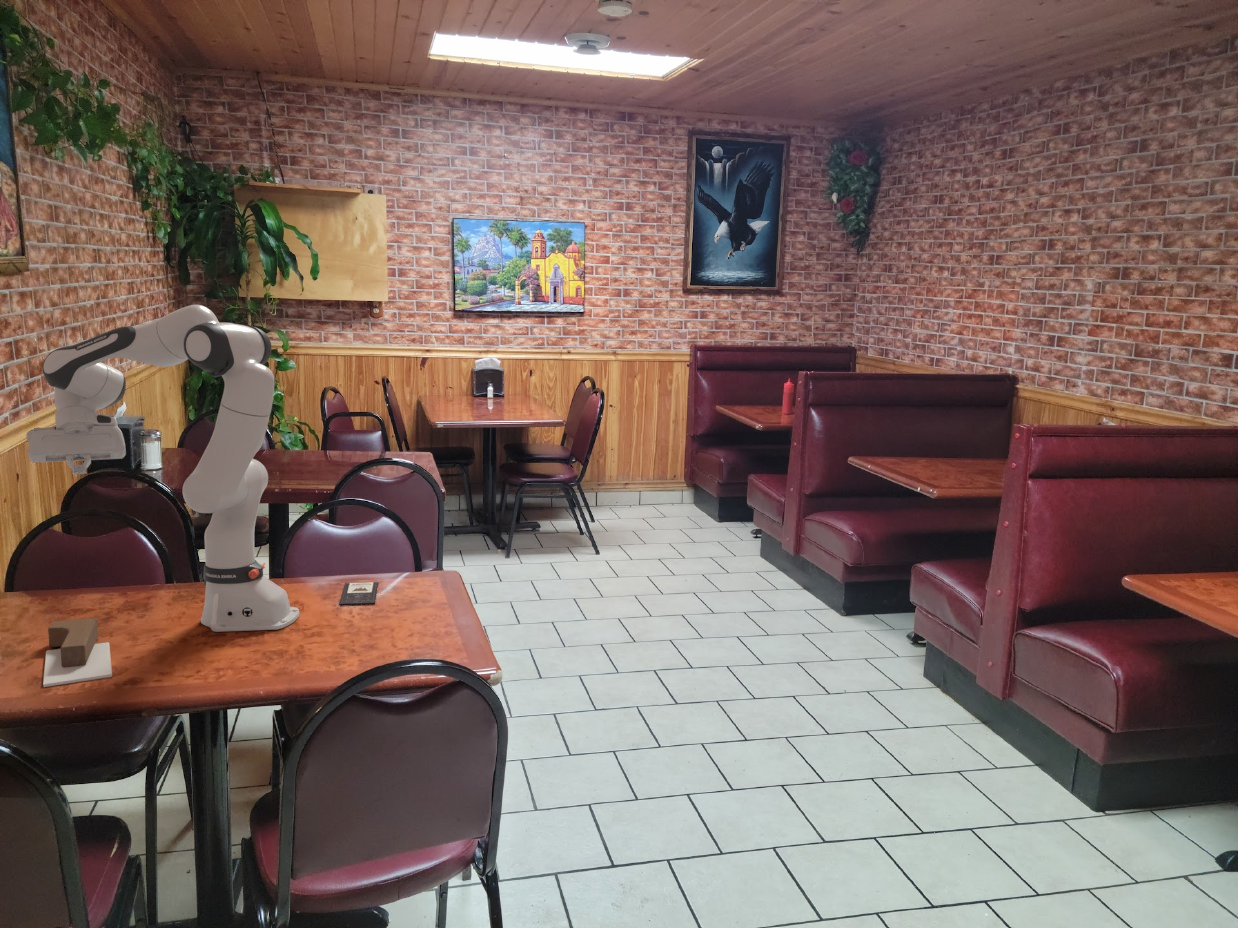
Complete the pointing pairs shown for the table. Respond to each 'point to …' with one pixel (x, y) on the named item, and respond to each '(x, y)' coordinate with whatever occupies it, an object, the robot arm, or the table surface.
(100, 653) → the white board
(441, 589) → the table surface
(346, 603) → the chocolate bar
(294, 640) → the table surface
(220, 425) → the robot arm
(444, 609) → the table surface
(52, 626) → the wooden block
